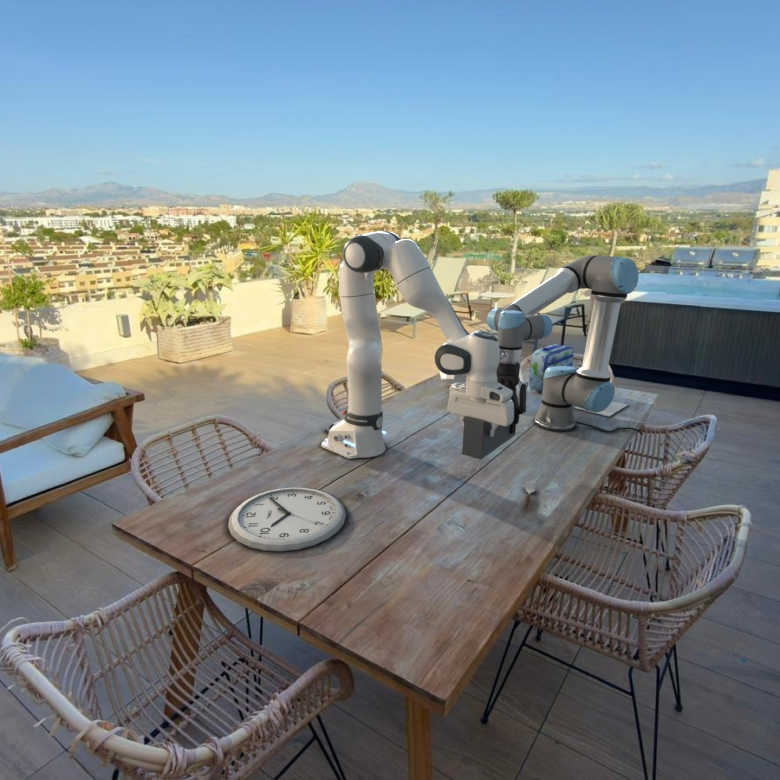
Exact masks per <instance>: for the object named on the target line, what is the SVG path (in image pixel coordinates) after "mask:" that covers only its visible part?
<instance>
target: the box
mask: <svg viewBox="0 0 780 780" xmlns="http://www.w3.org/2000/svg"><path fill="white" fill-rule="evenodd" d="M489 429H492V426H491V423H489V422H486V421H485V420H481V419H477V418H473V417H469V416H466V417H464V430H463V429H462V430H463V432H462V433H463V434H462V447H461V450H462V451H461V452H462V453H461V455H462V456H463V455H464V456H467V457H470V458H474V459H477V460H480V461H481V460H483V459H485V458H486V457H488V455H490V454H491V453H493V452H494V451H496V450H497V449H498V448H500V447H501V446H502V445H504V444H505V443H506V442H508V441H509V440H511V439H512V438H514V437H515V436H516V431H517V430H516V429H517V428H516V429H515V432H514V433H513V434H510V425H508V426H502V425H498V427H497V428H496V429H495V430H494V436H493V437H490V436H487V434H488V433H487V431H488V430H489Z"/></svg>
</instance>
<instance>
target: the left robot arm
mask: <svg viewBox="0 0 780 780" xmlns="http://www.w3.org/2000/svg"><path fill="white" fill-rule="evenodd" d="M342 258H343V261H342V262H340V265H339V267H338V292H339V301H340V307H341V315H342V321H343V322H342V323H343V324H344V329H345V333H346V337H347V342H348V343H347V344H348V350H347V352H346V359H345V361H346V376H347V377H346V379H347V387H348V388H347V390H348V391H347V392H348V394H347V398H348V399H347V400H348V408H346V409H345V410H344V411H342V412H341V416H344V418H343V419H342V420H338V421H335V422H332V423H331V424H330V425H329V427H328V429H326V428H325V429H324V430H323V431H324V432H325V433H326V434H328V436H327V437H326V438H325V439H324V440H323V441H322V442H321V446H320V447H321V448H323V449H325V450H327V451H329V452H332V453H335V454H337V455H339V456H342V457H344V458H346V459H349V460H354V459H359V458H361V459H362V458H371V457H372V458H373V457H377V456H380V455H382V454H383V453H385V452H386V450H387V447H386V445H385V441H384V436H383V435H387V432H386V431H385V430H383V423H384V418H383V417H384V413H383V408H382V402H383V401H382V397H383V395H382V393H383V392H382V390H383V389H382V386H383V385H382V377H383V376H382V373H383V372H382V369H383V367H382V365H383V364H382V362H383V361H382V360H383V351H384V349H383V342H382V335H381V329H380V322H379V321H380V320H379V315H378V308H377V307H378V306H377V299H376V291H375V290H376V289H375V284H374V283H375V282H374V278H375V274H376V273H377V272H378V271H379V272H382V271H384V270H386V271H388V272H389V274H390V275H391V277H392V279H393V281H394V283H395V285H396V287H397V289H398V291H399V293H400V295H401V297H402V298H403V299H404V300H405V302H406V303H407V304H408V305H410V306H411V307H412V308H416V309H419V310H421V311H425V312H426V313H428V314H430V316H431V317H433V319H434V320H435V322H436V323H437V324H436V325H438V327H439V329H440V330H441V332H442V334H443V336H444V338H445V339H446V342H445V343H443V344H442V345H440V346H439V347H438V348H437V349H436V351H435V354H434V363H435V367H436V368H437V370H438V371H439V370H440V371H441V372H442V373H444V374H446V375H462V374H465V375H466V383H459V384H458V383H454V384H450V386H449V387H448V388H449V390H448V393H449V396H448V399H447V407H446V408H447V409H446V410H447V411H448V413H450V414H454V415H458V416H459V419H460V422H461V424H462V430H464V417H466V416H469V417H473V418H477V419H481V420H485V421H486V422H489V423H491V426H492V429H489V430H488V431H487V433H488V434H487V436H490V437H493V436H494V430H495V429H496V428H497V427H498V425H502V426H508V425H510V424H511V423H512V422H513V420H514V404H513V401H512V400H511V399H510V398H511V397H512V396H513V391H512V390H511V389H509V388H507V387H505V386H503V385H502V384H500V383H499V382H497V368H498V365H499V343H498V337H497V336H495V335H494V334H492V333H490V332H487V331H480V330H476V331H472V332H471V333H470V332H468V331H467V330H466V328H465V327H464V325H463V323H462V321H461V320H460V318H459V316H458V315H457V312H456V311H455V309H454V307H453V306H452V303H450V301H449V300H448V298H447V296H446V294H445V292H444V291H443V289H442V288H441V285H440V284H439V281H438V279H437V277H436V275H435V273H434V270H432V267H431V265H430V264H429V261H428V259H427V258H426V256H425V255H424V253H423V252H422V250H421V249H420V248H419V246H418V245H417V243H416V242H415V241H414V240H412V239H409V238H403V239H401V237H400V236H399V235H397V234H396V233H394V232H392V231H388V230H384V231H371V232H368V233H364V234H357V235H355V236H353V237H351V238H350V239H349V240H348V241H346V243H345V244H344V246H343V250H342Z"/></svg>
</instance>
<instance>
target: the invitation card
mask: <svg viewBox="0 0 780 780" xmlns="http://www.w3.org/2000/svg"><path fill="white" fill-rule="evenodd" d="M628 406H629V404H627V403H623V402H618V401H614V400H612V402H611V403H610V405H609V406H608V407H607V408H606V409H604V410H603V411H601V412H592V411H587V410H585V409H583V408H580V407H577V406H574V407H573V409H575V410H581V411H584V412H587V413H593V414H596V415H600V416H604V417H608V418H609V417H611V416H613V415H614V414H616V413H617V412H619V411H621V410H623V409H624V408H626V407H628Z"/></svg>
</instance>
